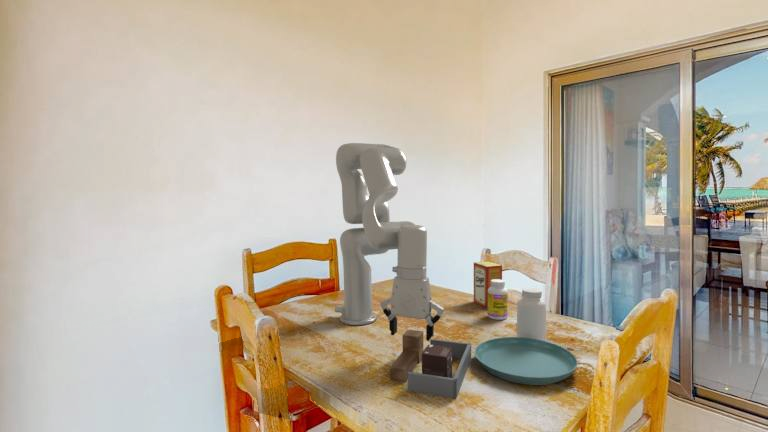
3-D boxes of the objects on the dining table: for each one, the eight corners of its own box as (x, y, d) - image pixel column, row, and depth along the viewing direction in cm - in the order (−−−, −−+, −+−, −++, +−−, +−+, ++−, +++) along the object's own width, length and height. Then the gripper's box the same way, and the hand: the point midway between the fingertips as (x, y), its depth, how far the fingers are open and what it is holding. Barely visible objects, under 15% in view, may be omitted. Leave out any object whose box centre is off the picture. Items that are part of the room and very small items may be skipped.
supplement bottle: (490, 320, 135) (491, 283, 134) (485, 314, 142) (485, 278, 141) (510, 320, 135) (510, 282, 135) (504, 314, 142) (504, 278, 141)
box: (447, 388, 90) (447, 356, 89) (421, 384, 92) (421, 353, 92) (452, 376, 96) (452, 346, 95) (428, 373, 98) (427, 343, 97)
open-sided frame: (407, 390, 89) (407, 373, 89) (431, 352, 109) (431, 338, 109) (456, 398, 85) (456, 380, 85) (471, 358, 106) (471, 343, 105)
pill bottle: (545, 337, 120) (545, 287, 118) (546, 347, 112) (547, 294, 111) (517, 334, 122) (517, 286, 121) (516, 344, 115) (516, 292, 114)
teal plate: (497, 341, 118) (497, 330, 117) (588, 363, 102) (588, 350, 102) (457, 371, 99) (457, 358, 99) (560, 403, 84) (561, 387, 84)
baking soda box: (473, 301, 158) (473, 261, 157) (488, 300, 160) (488, 260, 159) (486, 308, 149) (486, 265, 148) (501, 306, 151) (502, 264, 150)
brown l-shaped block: (388, 380, 94) (388, 351, 94) (407, 354, 109) (407, 329, 108) (406, 383, 93) (406, 353, 92) (423, 356, 107) (423, 331, 107)
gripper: (375, 273, 104) (375, 336, 106) (441, 279, 98) (440, 346, 100) (385, 266, 111) (385, 326, 113) (447, 272, 105) (446, 335, 107)
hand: (411, 336), depth 106 cm, fingers open, 9 cm apart
